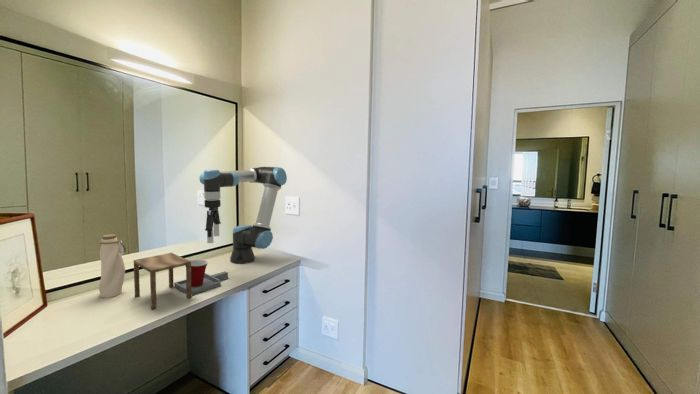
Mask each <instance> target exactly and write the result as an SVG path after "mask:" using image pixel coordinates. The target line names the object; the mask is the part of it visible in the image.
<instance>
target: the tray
mask: <svg viewBox="0 0 700 394" xmlns="http://www.w3.org/2000/svg"><path fill="white" fill-rule="evenodd" d="M228 279H229V272H227V271H222V272H218V273H215V274H211V275H210V274H209V273H207V272H205V275H204V280H203V284H202V285H201V286H198V287H191V296H193V295H196V294H198V293H202V292H206V291H208V290H212V289H215V288H219V287H221V281H223V280H228ZM173 284H174V287H173V288H175V289H177V290H179V291H180V292H182V293H184V294H186V295H187V292H186V279H182V280H179V281H175V282H173Z"/></svg>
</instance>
